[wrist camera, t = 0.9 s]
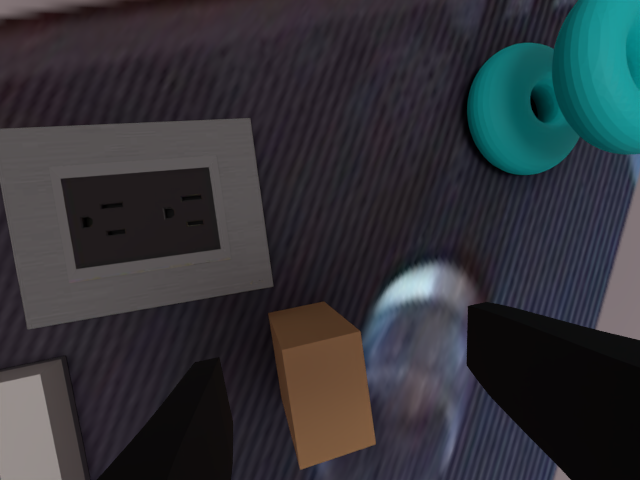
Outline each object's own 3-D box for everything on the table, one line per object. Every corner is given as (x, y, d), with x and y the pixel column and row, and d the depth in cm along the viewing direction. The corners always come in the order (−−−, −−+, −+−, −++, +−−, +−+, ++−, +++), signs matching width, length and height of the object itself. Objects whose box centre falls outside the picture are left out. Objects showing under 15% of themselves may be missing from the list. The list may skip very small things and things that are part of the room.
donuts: (733, -23, 18) (724, 155, 18) (559, 66, 28) (554, 181, 28) (602, -71, 15) (592, 136, 16) (460, 46, 25) (456, 173, 25)
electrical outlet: (49, 319, 19) (23, 331, 17) (17, 140, 18) (-15, 127, 16) (269, 281, 22) (273, 287, 20) (248, 128, 21) (250, 116, 19)
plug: (335, 381, 23) (375, 444, 16) (281, 396, 22) (300, 469, 15) (323, 301, 23) (360, 331, 16) (268, 313, 22) (281, 350, 15)
